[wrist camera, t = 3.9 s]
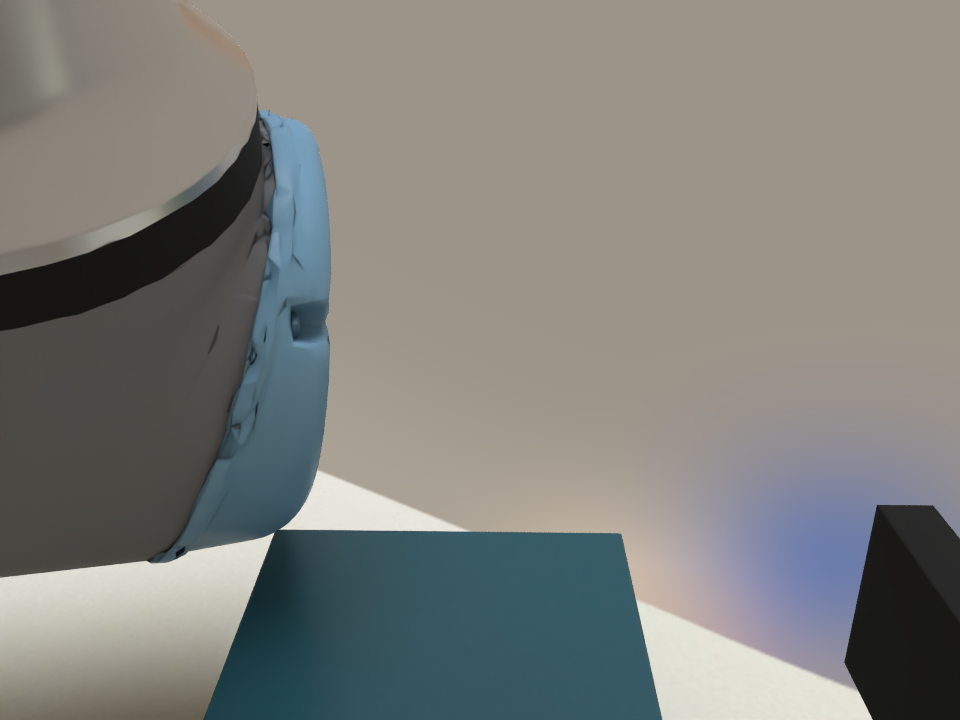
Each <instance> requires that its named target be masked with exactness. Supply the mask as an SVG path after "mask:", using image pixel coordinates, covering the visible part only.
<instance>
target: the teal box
mask: <svg viewBox="0 0 960 720" xmlns="http://www.w3.org/2000/svg"><path fill="white" fill-rule="evenodd" d="M203 720H662V716H661V712H660V707H659V703H658V698H657V694H656V689H655V685H654V680H653V676H652V671H651V667H650V662H649V657H648V653H647V648H646V644H645V639H644V635H643V630H642V626H641V621H640V617H639V612H638V608H637V603H636V598H635V594H634V589H633V585H632V581H631V576H630V571H629V567H628V562H627V558H626V553H625V549H624V544H623V539H622V535H621V534H618V533H531V532H529V533H528V532H527V533H525V532H443V531H353V530H277V531H276V532H275V533H274V536H273V538H272V541H271V544H270V546H269V549H268V551H267V554H266V557H265V559H264V562H263V565H262V567H261V570H260V572H259V575H258V578H257V580H256V583H255V586H254V588H253V591H252V593H251V596H250V599H249V601H248V604H247V607H246V609H245V612H244V614H243V617H242V620H241V622H240V625H239V628H238V630H237V633H236V635H235V638H234V641H233V643H232V646H231V649H230V651H229V654H228V656H227V659H226V662H225V664H224V667H223V670H222V672H221V675H220V677H219V680H218V683H217V685H216V688H215V691H214V693H213V696H212V698H211V701H210V704H209V706H208V709H207V712H206V714H205V717H204V719H203Z"/></svg>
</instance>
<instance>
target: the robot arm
mask: <svg viewBox="0 0 960 720" xmlns="http://www.w3.org/2000/svg"><path fill="white" fill-rule="evenodd" d="M269 112H270V110H265V111H258V100H257V89H256V84H255V78H254V73H253V69H252V67H251V65H250V63H249V61H248V59H247V57H246V55H245V53H244V51H243V50H242V49H241V47H240V46H239V44H238V43H237V41H236V40H235V39H234V38H233V37H232V36H231V35H230V34H229V33H228V32H226V31H225V30H224V29H223V28H222V27H221V26H220V25H219V24H218V23H216V22H215V21H213V20H212V19H211V18H209V17H208V16H206V15H205V14H204V13H203V12H201V11H200V10H199V9H197V8H196V7H195V6H193V5H192V4H190V3H189V2H188V1H187V0H0V577H9V576H18V575H27V574H35V573H44V572H53V571H62V570H70V569H79V568H88V567H96V566H105V565H114V564H123V563H131V562H140V561H148V562H150V563H166V562H170V561H173V560H175V559H177V558H179V557H181V556H183V555H185V554H186V553H187V552H188V551H193V550H199V549H204V548H210V547H215V546H221V545H227V544H232V543H238V542H243V541H249V540H254V539H258V538H262V537H265V536H267V535H270V534H272V533H274V532H276V531H277V530H279V529H281V528H282V527H284V526H285V525H286V524H287V523H289V522H290V521H291V520H292V519H293V518H294V517H295V516H296V514H297V513H298V512H299V510H300V509H301V508H302V506H303V505H304V503H305V501H306V499H307V497H308V495H309V493H310V491H311V488H312V485H313V482H314V479H315V476H316V472H317V468H318V464H319V458H320V453H321V447H322V440H323V434H324V426H325V415H326V407H327V395H328V382H329V355H330V343H329V336H328V330H327V326H326V323H325V320H326V317H327V315H328V311H329V291H330V280H331V249H330V229H329V213H328V201H327V192H326V184H325V177H324V171H323V166H322V162H321V158H320V154H319V148H318V145H317V142H316V140H315V138H314V136H313V134H312V132H311V131H310V130H309V129H308V127H307V126H305V125H304V124H302V123H301V122H299V121H297V120H294V119H288V118H283V117H280V116H279V115H277V114H272V113H269ZM845 665H846V667H847V669H848V671H849V673H850V675H851V677H852V679H853V681H854V683H855V685H856V687H857V689H858V691H859V693H860V695H861V697H862V699H863V701H864V703H865V705H866V707H867V709H868V711H869V713H870V715H871V717H872V719H873V720H960V539H959V537H958V536H957V535H956V534H955V532H954V531H953V530H952V529H951V527H950V526H949V525H948V524H947V522H946V521H945V520H944V519H943V517H942V516H941V515H940V514H939V512H938V511H937V510H936V509H935V508H934V506H922V505H920V506H919V505H918V506H917V505H877V507H876V512H875V517H874V522H873V527H872V532H871V536H870V541H869V546H868V551H867V556H866V561H865V566H864V570H863V575H862V580H861V585H860V590H859V595H858V599H857V604H856V609H855V614H854V619H853V623H852V628H851V633H850V638H849V643H848V648H847V652H846V657H845Z"/></svg>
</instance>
